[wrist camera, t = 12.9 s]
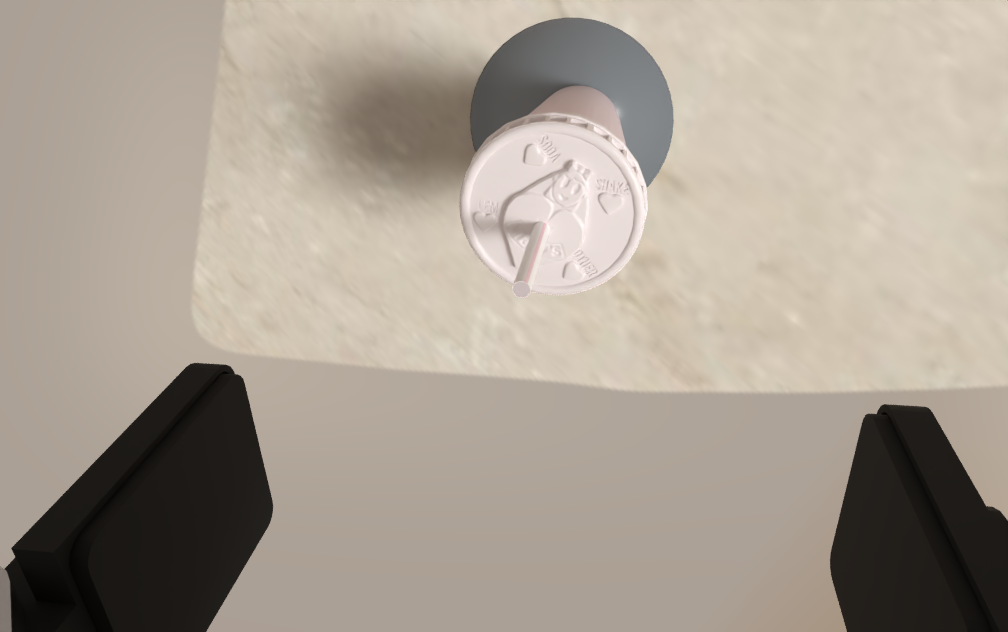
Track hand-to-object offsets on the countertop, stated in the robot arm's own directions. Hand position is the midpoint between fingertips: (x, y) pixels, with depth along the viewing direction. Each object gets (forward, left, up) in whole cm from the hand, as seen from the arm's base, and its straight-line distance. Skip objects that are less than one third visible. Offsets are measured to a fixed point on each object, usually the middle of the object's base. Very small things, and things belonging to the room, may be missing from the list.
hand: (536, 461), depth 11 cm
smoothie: (+1, -1, -25) cm, 25 cm away
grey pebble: (+1, -1, -25) cm, 25 cm away
